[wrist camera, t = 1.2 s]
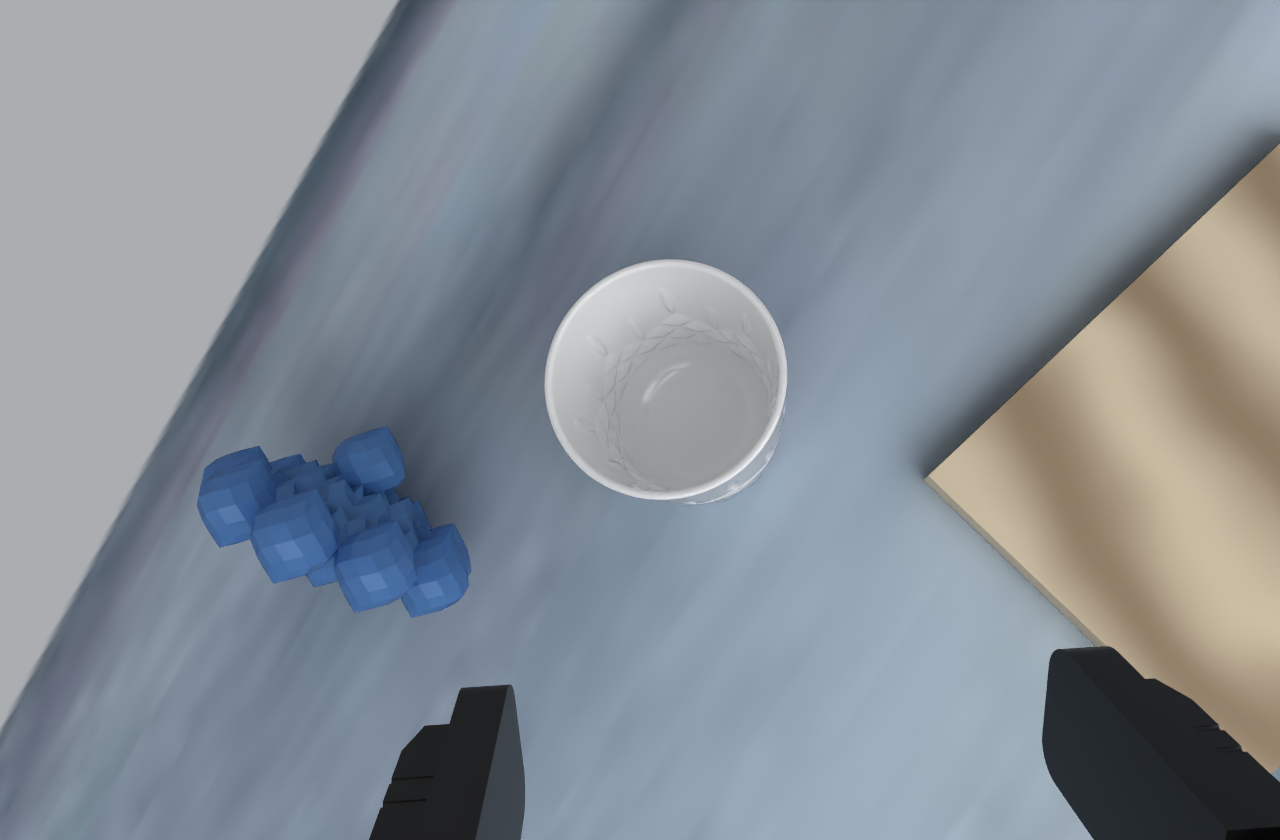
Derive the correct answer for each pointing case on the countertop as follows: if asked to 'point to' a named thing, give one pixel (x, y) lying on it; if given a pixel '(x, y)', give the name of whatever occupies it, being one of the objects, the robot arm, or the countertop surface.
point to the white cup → (668, 383)
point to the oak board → (1158, 469)
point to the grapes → (337, 524)
